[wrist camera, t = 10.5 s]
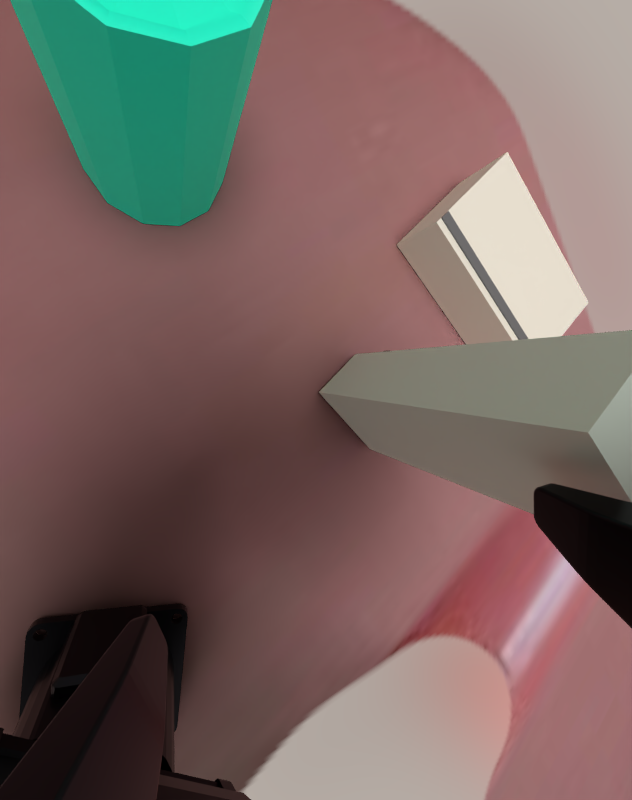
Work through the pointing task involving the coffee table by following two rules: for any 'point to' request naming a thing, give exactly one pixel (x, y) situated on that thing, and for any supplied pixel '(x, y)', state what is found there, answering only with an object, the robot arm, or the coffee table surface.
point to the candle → (149, 93)
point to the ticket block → (494, 261)
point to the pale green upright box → (500, 412)
